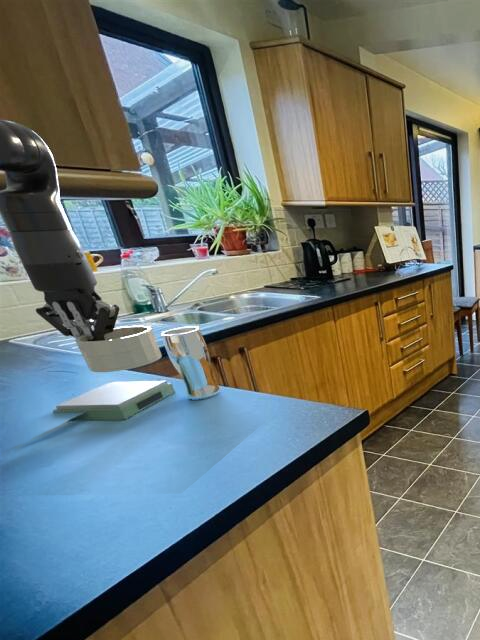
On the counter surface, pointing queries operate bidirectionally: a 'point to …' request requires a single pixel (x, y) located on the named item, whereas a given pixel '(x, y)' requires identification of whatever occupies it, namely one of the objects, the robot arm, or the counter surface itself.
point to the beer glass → (191, 361)
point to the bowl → (120, 349)
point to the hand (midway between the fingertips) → (100, 357)
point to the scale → (116, 400)
